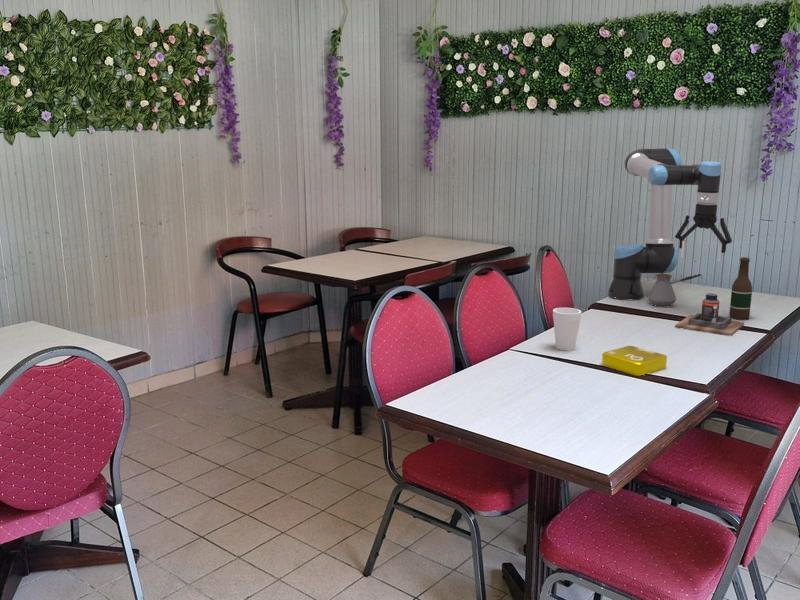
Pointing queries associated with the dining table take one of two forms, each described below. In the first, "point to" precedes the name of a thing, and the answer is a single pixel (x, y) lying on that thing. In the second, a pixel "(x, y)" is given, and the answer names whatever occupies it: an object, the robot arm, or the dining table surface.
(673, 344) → the dining table surface
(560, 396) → the dining table surface
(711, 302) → the supplement bottle
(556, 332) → the foam cup
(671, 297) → the coffee pot
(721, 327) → the holder board
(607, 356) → the element tile
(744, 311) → the beer bottle
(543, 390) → the dining table surface
